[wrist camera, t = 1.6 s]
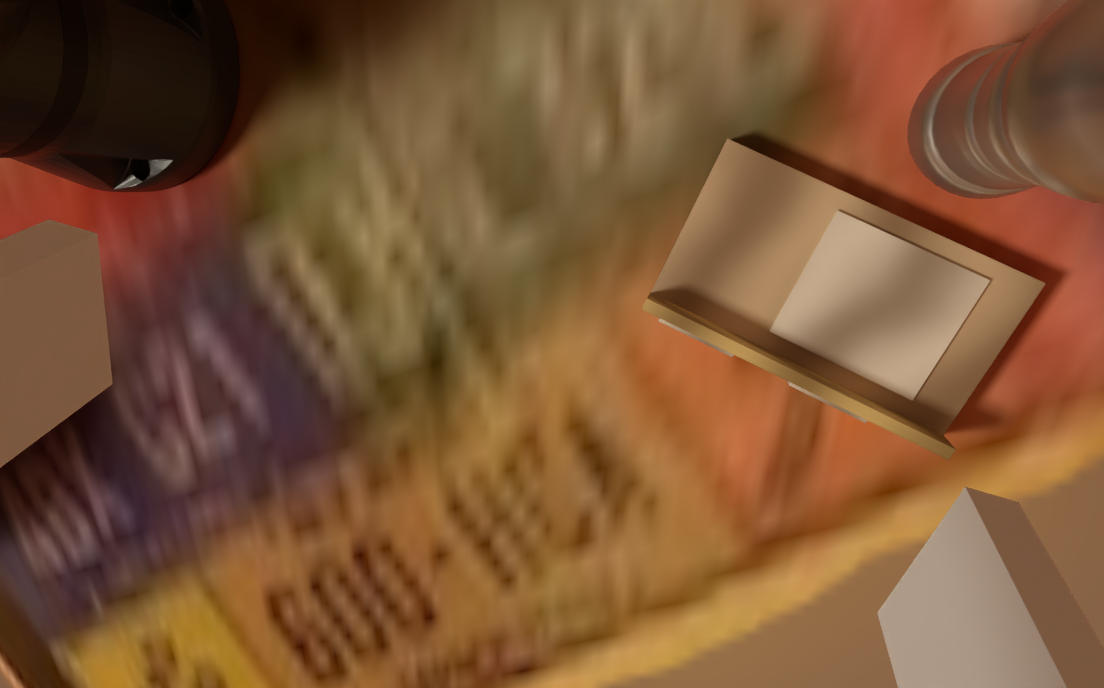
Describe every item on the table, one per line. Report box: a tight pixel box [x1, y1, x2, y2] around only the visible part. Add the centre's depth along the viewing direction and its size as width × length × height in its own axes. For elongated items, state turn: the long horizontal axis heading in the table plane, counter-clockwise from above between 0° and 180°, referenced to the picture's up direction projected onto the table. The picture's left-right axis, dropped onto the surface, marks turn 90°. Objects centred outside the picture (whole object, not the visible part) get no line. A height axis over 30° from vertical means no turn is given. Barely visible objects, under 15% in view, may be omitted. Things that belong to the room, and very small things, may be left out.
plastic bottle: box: [907, 0, 1104, 204], centre depth 24 cm, size 6×7×20 cm
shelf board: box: [642, 139, 1046, 460], centre depth 35 cm, size 16×9×4 cm, turn 66°
